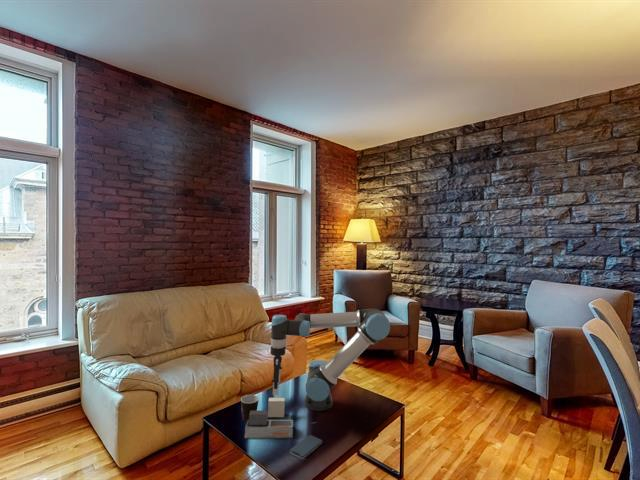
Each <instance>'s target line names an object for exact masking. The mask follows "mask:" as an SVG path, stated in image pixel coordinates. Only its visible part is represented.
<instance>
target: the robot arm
mask: <svg viewBox="0 0 640 480" xmlns="http://www.w3.org/2000/svg"><path fill="white" fill-rule="evenodd" d="M342 327H343V328H349V327H350V328H351V327H357V331H356V332H355V334H354V335H353V336H352V337H351V338H350V339H349V340H348V341H347V342H346V343H345V344H344V345H343V346H342V347H341V348H340V349H339V350H338V351H337V352H336V353H335V354H334V355H333V356H332V357H331V358H330V359H329V361H327V360H321V359H315V360H314V359H313V360H311V361H309V362H308V375H307V378H306V383H305V393H306V395H305V398H304V406H305V408H306V409H308V410H309V411H310V410H311V411H314V412H323V411H324V410H325V411H328V410H330V409H331V408H332V407H333V396H332V394H331V390H332V389H333V388H335V386H336V385H337V383H338V378H339V377H340V376H341V375H342V374H343V373H344V372H345V371H346V370H347V369H348V368H349V367H350V366H351V365H352V364H353V363H354V362H355V360H357V358H359V357H360V355H362V353H364V351H365V350H366V349H367V348H368V347H369V346H370V345H375V344H377V343H378V342H379V341H380V340H383V339H385V338H386V337H387V336H388V335H389V334H390V330H391V324H390V320H389V318H388V317H387V316H386V314H385V312H383V311H382V310H380V309H378V308H365V309H364V308H363V309H358V310H356V311H346V312H344V311H343V312H329V313H311V314H308V313H307V314H306V313H304V312H303V313H301V312H300V313H299V314H297V315H296V316H295V318H294V319H288V317H287V315H285V314H274V315H273V316H272V317H271V331H270V332H271V333H270V335H271V337H270V339H269V342H270V355H271V356H273V377H272V380H271V382H272V396H279V386H280V385H279V384H280V383H281V371H282V369H283V367H282V365H281V364H282V359H283V356H285V355H286V348H287V347H286V345H287V336H296V337H309V336H310V334H311V333H310V332H311V329H324V328H325V329H328V328H342ZM329 408H330V409H329ZM327 409H328V410H327Z"/></svg>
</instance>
